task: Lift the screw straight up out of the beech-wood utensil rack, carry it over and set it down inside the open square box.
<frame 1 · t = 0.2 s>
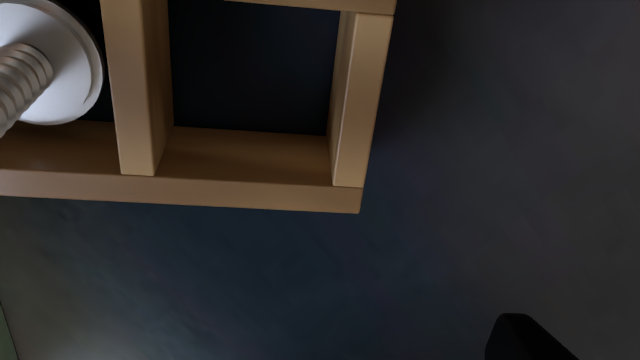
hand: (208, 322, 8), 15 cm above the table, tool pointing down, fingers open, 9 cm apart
utensil rack: (154, 50, 20), on the table
screw: (54, 41, 20), on the table
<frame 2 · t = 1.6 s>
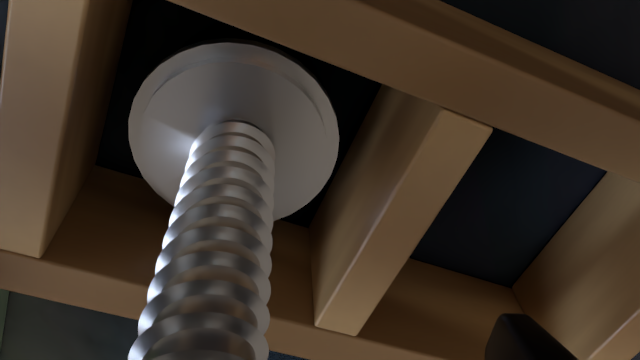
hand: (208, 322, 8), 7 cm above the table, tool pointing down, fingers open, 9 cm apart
utensil rack: (369, 149, 15), on the table
screw: (242, 102, 14), on the table
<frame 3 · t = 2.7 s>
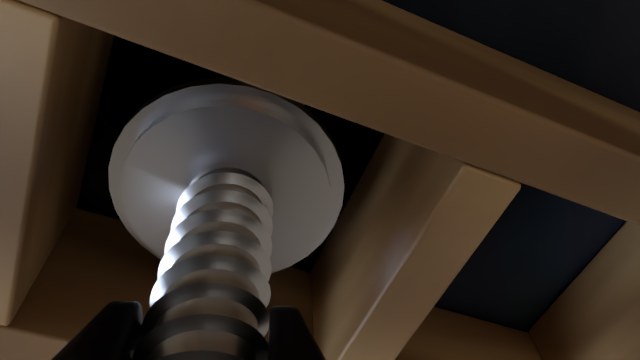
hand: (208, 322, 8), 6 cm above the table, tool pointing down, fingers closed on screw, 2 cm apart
utensil rack: (376, 190, 14), on the table
screw: (236, 140, 13), on the table, touching gripper
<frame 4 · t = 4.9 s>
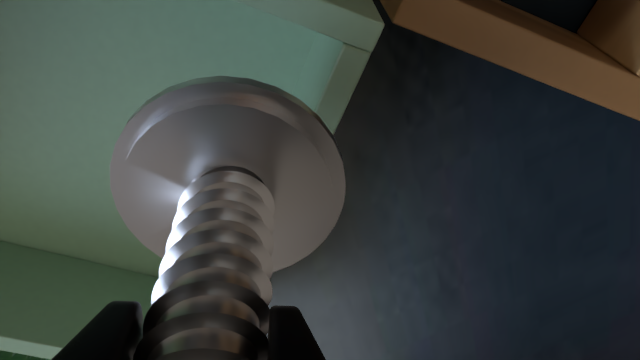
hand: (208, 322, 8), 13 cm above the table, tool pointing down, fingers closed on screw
open square box: (96, 106, 20), on the table
screw: (238, 139, 13), point 7 cm above the table, touching gripper
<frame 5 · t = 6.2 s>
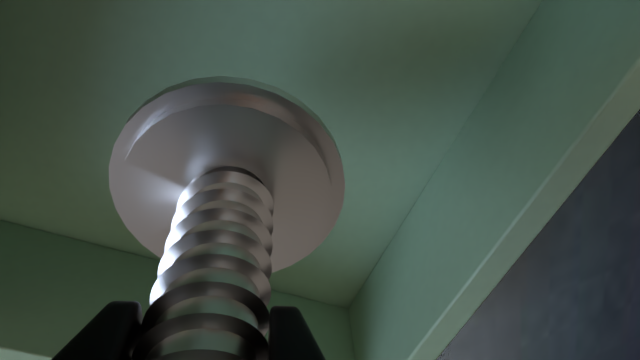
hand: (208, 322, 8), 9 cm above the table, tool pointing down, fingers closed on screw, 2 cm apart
open square box: (242, 78, 15), on the table
screw: (237, 139, 13), point 3 cm above the table, touching gripper
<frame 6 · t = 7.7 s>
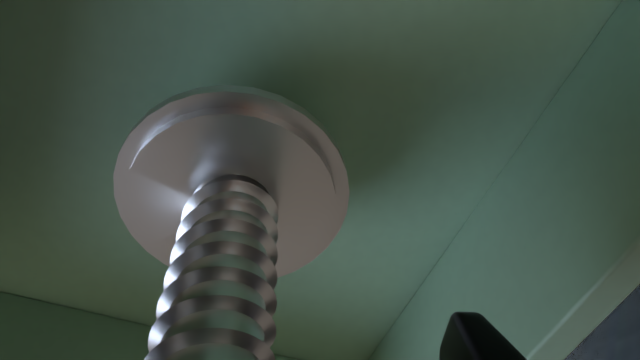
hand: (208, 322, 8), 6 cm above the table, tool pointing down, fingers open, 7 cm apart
open square box: (239, 124, 13), on the table
screw: (241, 144, 13), point 1 cm above the table, touching open square box
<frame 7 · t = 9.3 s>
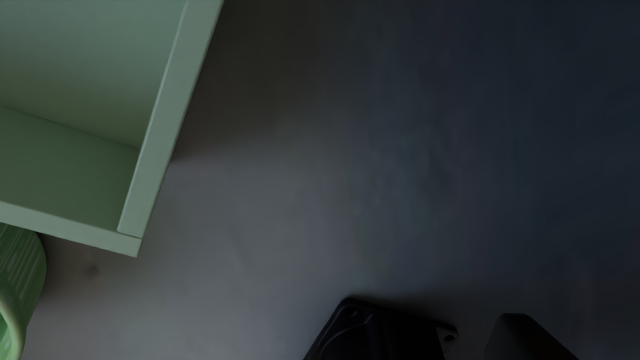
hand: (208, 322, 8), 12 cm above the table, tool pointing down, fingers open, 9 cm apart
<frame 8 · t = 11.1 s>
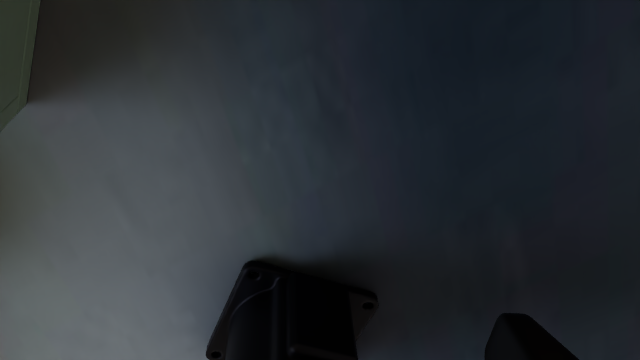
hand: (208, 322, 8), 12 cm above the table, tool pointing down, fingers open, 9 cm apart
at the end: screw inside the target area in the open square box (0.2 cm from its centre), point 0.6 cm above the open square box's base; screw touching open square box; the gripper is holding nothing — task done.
